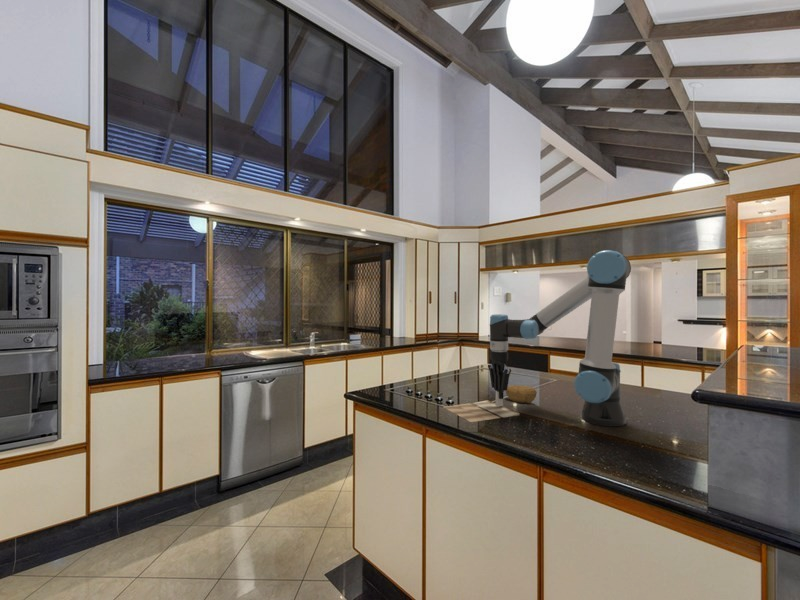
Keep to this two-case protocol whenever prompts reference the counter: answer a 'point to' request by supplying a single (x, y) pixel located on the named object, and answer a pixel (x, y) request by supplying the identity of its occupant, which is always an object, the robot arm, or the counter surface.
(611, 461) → the counter surface
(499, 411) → the board
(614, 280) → the robot arm
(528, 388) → the potato
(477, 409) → the laid boards
